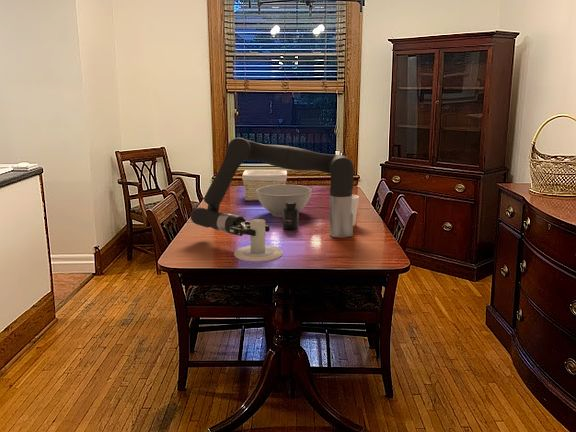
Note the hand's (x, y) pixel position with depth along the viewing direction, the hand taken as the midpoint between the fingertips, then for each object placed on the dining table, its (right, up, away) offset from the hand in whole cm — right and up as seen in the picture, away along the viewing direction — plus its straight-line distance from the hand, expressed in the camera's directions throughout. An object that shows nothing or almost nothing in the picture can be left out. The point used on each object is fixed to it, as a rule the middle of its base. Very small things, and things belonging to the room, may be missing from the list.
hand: (262, 231), depth 205 cm
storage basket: (-3, +15, +99) cm, 101 cm away
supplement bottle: (+11, 0, +38) cm, 39 cm away
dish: (-2, -9, +4) cm, 10 cm away
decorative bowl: (+8, +6, +64) cm, 64 cm away
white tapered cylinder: (-2, -8, +3) cm, 9 cm away
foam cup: (+36, +1, +43) cm, 57 cm away
